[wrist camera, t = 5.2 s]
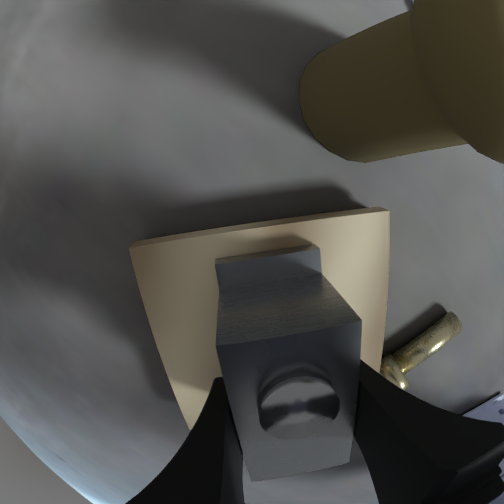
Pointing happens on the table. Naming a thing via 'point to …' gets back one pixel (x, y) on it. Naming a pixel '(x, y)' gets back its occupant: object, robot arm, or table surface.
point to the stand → (245, 242)
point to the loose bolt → (419, 349)
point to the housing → (287, 361)
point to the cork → (412, 84)
